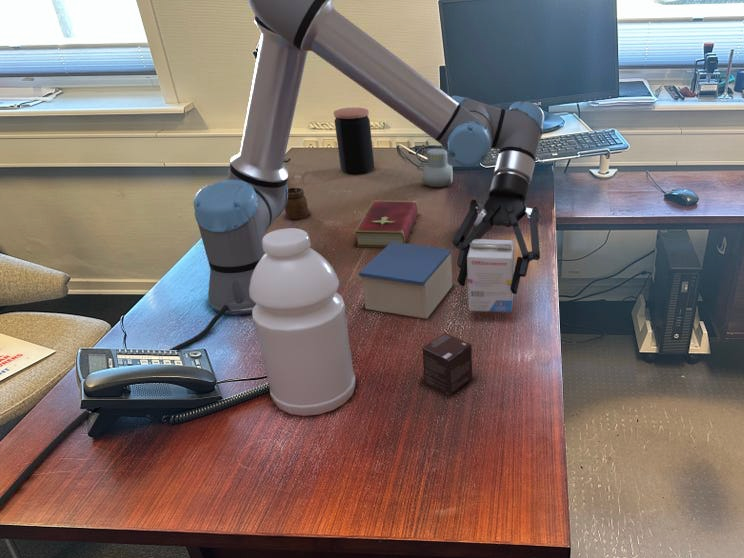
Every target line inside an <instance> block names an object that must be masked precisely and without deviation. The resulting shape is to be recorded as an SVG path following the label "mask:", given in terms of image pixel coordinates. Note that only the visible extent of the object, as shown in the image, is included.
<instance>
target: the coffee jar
mask: <svg viewBox="0 0 744 558" xmlns="http://www.w3.org/2000/svg"><path fill="white" fill-rule="evenodd" d="M369 114H370V113H369V110H368V109H367V108H365V107H364V108H363V107H343V108H339V109H336V110H334V111H333V116H334V128H335V135H336V143H337V150H338V157H339V158H338V159H339V164H340V166H339V167H340V170H341V171H342V172H343V173H344V174H346V175H352V176H353V175H357V176H358V175H364V174H368V173H370V172H372V171H373V169H374V168H375V162H374V159H375V158H374V150H373V141H372V139H373V138H372V131H371V120H370V118H369Z"/></svg>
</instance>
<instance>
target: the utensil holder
mask: <svg viewBox="0 0 744 558" xmlns="http://www.w3.org/2000/svg"><path fill="white" fill-rule="evenodd" d="M297 177H298V184H300V182H301V183H303V177H302V175H301V174H296V175H295V176H294V180H296V178H297ZM300 177H301V178H300ZM300 180H301V181H300ZM284 211H285V215H286V217H287V219H289V220H302V219H305V218H306V217H308V216H309V208H308V201H307V198H306V196H305V191H304V189H303V187H296V184H294V187H289V188H288V199H287V203H286V206H285V208H284Z"/></svg>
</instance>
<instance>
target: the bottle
mask: <svg viewBox="0 0 744 558" xmlns="http://www.w3.org/2000/svg"><path fill="white" fill-rule="evenodd" d="M262 246H263V251H264V252H265V254H264V255H263V257H262V258H261V260H260V261H259V262H258V264H257V266H256V267H255V269H254V271H253V273H252V276H251V280H250V286H249V295H250V298H251V299H252V300H253V301H254V302H255V303H256V305H255V307H254V308H253V310H252V314H251V315H252V322H253V325H254V328H255V333H256V337H257V340H258V344H259V349H260V353H261V357H262V362H263V366H264V369H265V373H266V379H267V382H268V386H269V393H270V397H271V400H272V402H273V403H274V405H276V407H278V409H279V410H281V411H283V412H285V413H287V414H290V415H295V416H303V417H307V416H316V415H321V414H325V413H328V412H331V411H334V410H336V409H338V408H339V407H341V406H343V405H344V404H346V403H347V402H348V400H349V399H351V397H352V396H353V395H354V391H355V388H356V375H355V372H354V365H353V364H354V363H353V358H352V349H351V343H350V338H349V329H348V322H347V314H346V313H347V312H346V305H345V301H344V299H343V296H342V295H341V294H340V293H339V292H337V291H338V288H339V286H340V280H339V276H338V275H337V273H336V272H335V270H334V267H333V266H332V264H330V262H329V261H328V260H327V259H326V258H325V257H324V256H323V255H322V254H320V253H319V252H317V251H316V250H315V249H313V248H312V247H311V246H312V243H311V239H310V236H309V233H308V232H306V230H303V229H301V228H296V227H295V228H294V227H293V228H291V227H289V228H280V229H275V230H272V231H270V232H268V233H266V234H264V237H263V239H262Z"/></svg>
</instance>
